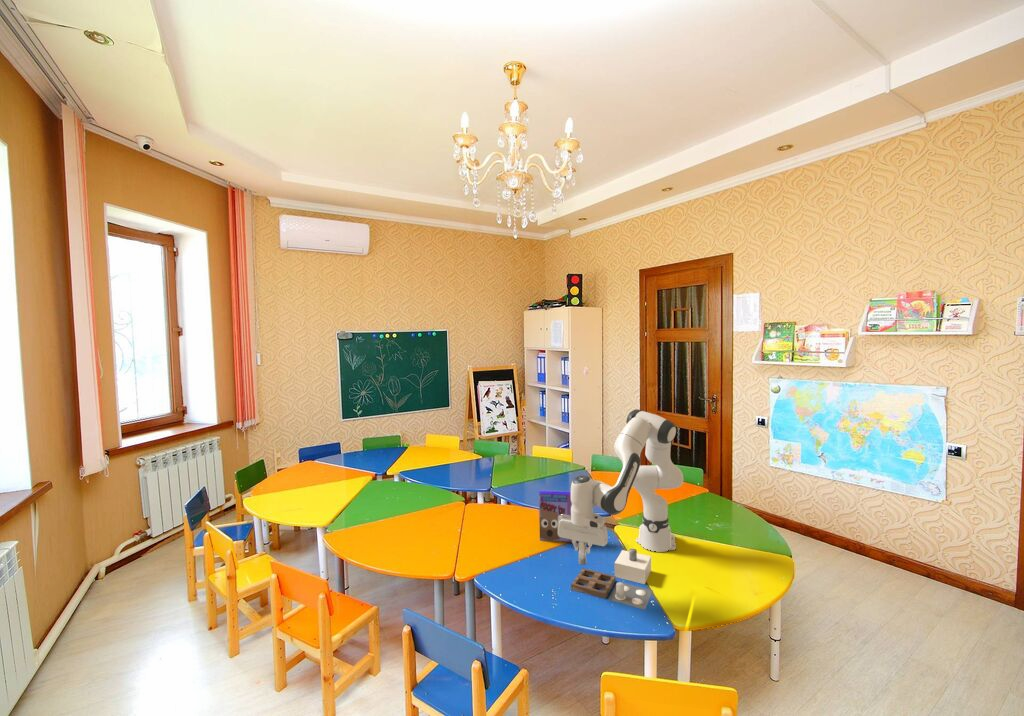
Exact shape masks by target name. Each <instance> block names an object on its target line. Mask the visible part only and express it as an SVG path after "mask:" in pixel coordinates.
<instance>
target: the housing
mask: <svg viewBox="0 0 1024 716" xmlns="http://www.w3.org/2000/svg"><path fill="white" fill-rule="evenodd" d="M637 552H638V551H637V549H636V548H629V551H628V550H624V549H622V550H621V551H620V553H619V555H618V556H617V558H616V560H615V561H614V576H615V578H618V579H620V580H621V579H622V580H625V581H630V582H634V583H638V584H642V585H646V584H647V580H648V578H649V576H650V574H651V572H652V555H648V554H643V553H642V554H641V553H639V552H638V553H637Z"/></svg>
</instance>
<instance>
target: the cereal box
mask: <svg viewBox="0 0 1024 716" xmlns="http://www.w3.org/2000/svg"><path fill="white" fill-rule="evenodd" d="M571 506H572V503H571V491H568V490H567V491H563V490H561V491H560V490H539V492H538V513H539V517H538V518H539V541H542V542H543V541H544V542H545V541H546V542H547V541H548V542H561V543H562V542H563V543H564V542H566V543H572V540H571V539H566V538H562V537H559V536H558V524H559V523H558V516H559V515H561V514H565V515H571Z"/></svg>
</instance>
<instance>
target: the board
mask: <svg viewBox="0 0 1024 716" xmlns="http://www.w3.org/2000/svg"><path fill="white" fill-rule="evenodd" d="M653 592H654V590H653V589H649V588H645V587H642V586H637V585H633V584H630V583H625V582H622V581H616V584H615V585H614V587H613V590H612V591H611V593H610V594H609V596H608V598H607V600H608V601H612V602H616V603H619V604H623V605H626V606H630V607H632V608H637V609H640V610H644V611H646V609H647V606H648V604H649V602H650V599H651V596H652V594H653Z"/></svg>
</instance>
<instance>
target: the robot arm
mask: <svg viewBox="0 0 1024 716" xmlns="http://www.w3.org/2000/svg"><path fill="white" fill-rule="evenodd" d="M625 423H626V424H625V426H624V427H623V428H622V429H621V431H620V433H618V436H617V437H616V439H615V441H614V444H613V450H614V452H615V454H616V456H617V458H618V459H619V460H620V461H621V463H622V469H621V470H620V474H619V475H618V478H617V481H616V483H615V484H614V485H613V486H611V485H609V484H607V483H605V482H603V481H601V480H595V479H593V478H591V477H590V476H588V475H578V476H576V477H574V478H573V479H572V481H571V485H570V492H571V503H572V506H571V515H565V514H561V515H559V516H558V523H559V524H558V536H559V537H562V538H566V539H571V540H572V542H571V543H572V544H573V547H574V551H576V552H579V549H578V541H581V542H585V543H586V544H587V546H588V547H587V546H586V548H585V553H586V554H588V555H589V554H590V553H591V548H592V546H593V545H595V546H600V547H605V546H606V545H607V544H608V542H609V535H608V529H607V526H606V524H605V523H606V519H605V517H604V516H601V515H599V514H597V513H596V512H594V507H597V508H600V509H601V510H603V511H604V512H606V513H607V514H608V515H611V516H617V515H619V514H621V512H623V511H624V510H625V508H626V506H627V503H628V498H629V495H630V491H631V489H632V488H634V489H635V490H636V491H637V492H638V494H639V495H640V496H641V500H642V506H643V507H642V508H643V514H642V518H641V519H642V524H640V525H639V531H638V537H637V538H635V542H636V543H637V542H638V543H637V544H639V545H640V544H641V545H640V546H641V547H642V548H643V547H644V548H643V549H645V550H647V549H648V550H647V551H650V550H651V551H650V552H654V551H656V552H657V553H665V552H669V551H675V549H676V550H677V544H676V543H675V542H676V536H675V534H673V533H672V531H671V525H670V521H669V515H668V502H667V500H666V498H664V496H662V495H660V494H657V493H656V492H655V491H656V490H673V489H678V488H680V487H682V485H683V483H684V474H683V472H682V470H681V468H679V467H678V466H677V465H675V464H674V462H672V459H671V447H672V442H673V440H674V439H675V437H676V433H677V427H676V425H675V422H673V421H672V420H669V419H666V418H664V417H662V416H660V415H658V414H655V413H652V412H647V411H644V410H642V409H636V408H635V409H633V410H631V411H630V412H629V413H628V415H627V417H626V421H625ZM644 447H645V450H644V451H645V453H644V454H645V457H646V460H648V461H649V462H650V463H651V464H653V465H641V457H640V456H641V453H642V451H643V449H644ZM668 550H669V551H668ZM656 552H655V553H656Z"/></svg>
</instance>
